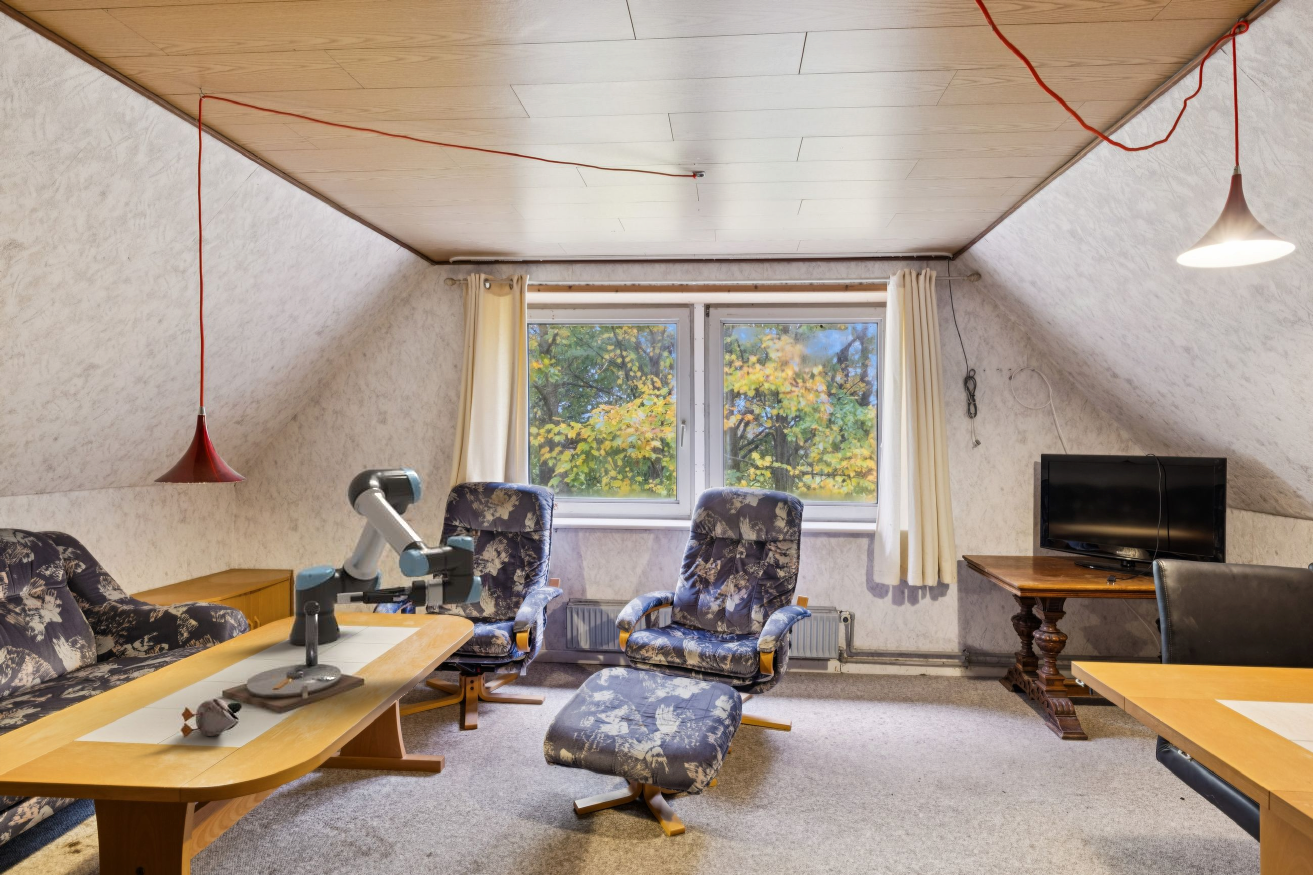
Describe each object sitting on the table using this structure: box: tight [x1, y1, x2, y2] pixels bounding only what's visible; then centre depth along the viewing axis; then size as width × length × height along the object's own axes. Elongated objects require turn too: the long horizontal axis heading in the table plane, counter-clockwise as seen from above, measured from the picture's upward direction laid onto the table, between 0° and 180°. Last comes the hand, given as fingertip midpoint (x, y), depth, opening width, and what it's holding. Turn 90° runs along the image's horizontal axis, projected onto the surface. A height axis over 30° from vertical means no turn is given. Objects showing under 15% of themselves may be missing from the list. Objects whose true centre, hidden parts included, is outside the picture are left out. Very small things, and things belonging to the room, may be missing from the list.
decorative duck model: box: [180, 698, 243, 739], centre depth 167 cm, size 15×8×15 cm
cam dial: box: [246, 601, 342, 698], centre depth 195 cm, size 23×22×19 cm
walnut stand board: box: [221, 673, 365, 714], centre depth 194 cm, size 24×24×4 cm
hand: (337, 599), depth 206 cm, fingers closed
